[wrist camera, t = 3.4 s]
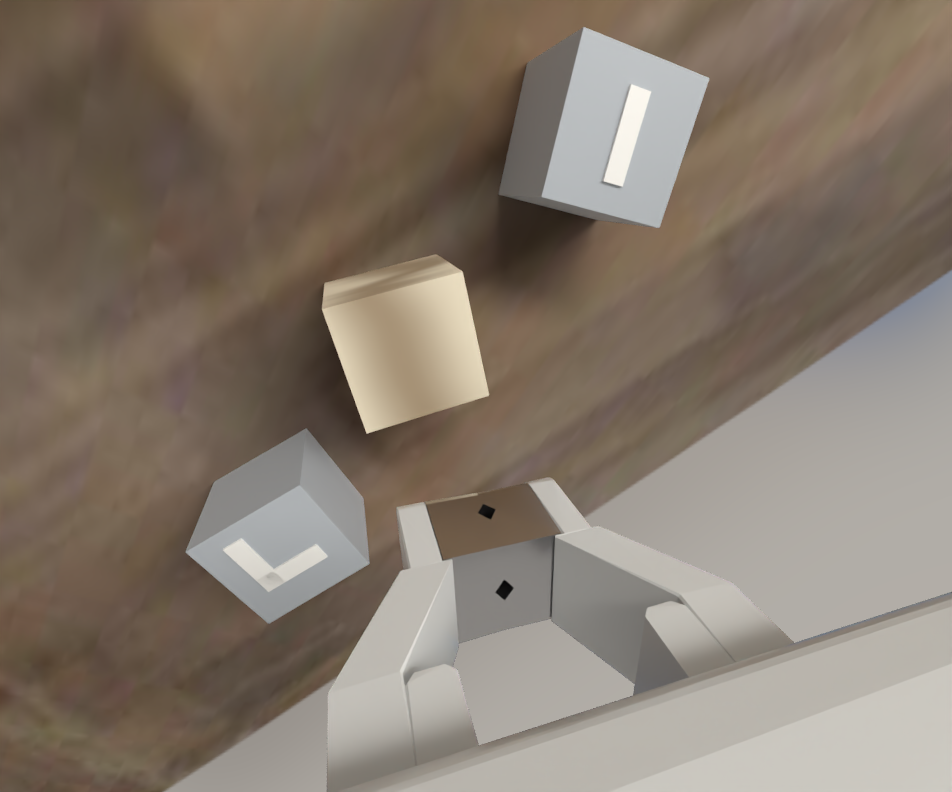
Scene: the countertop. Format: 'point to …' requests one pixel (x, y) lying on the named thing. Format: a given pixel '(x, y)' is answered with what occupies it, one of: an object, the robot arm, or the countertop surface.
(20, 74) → the countertop surface
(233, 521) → the grey block
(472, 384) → the maple block
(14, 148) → the countertop surface
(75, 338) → the countertop surface
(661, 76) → the grey block
